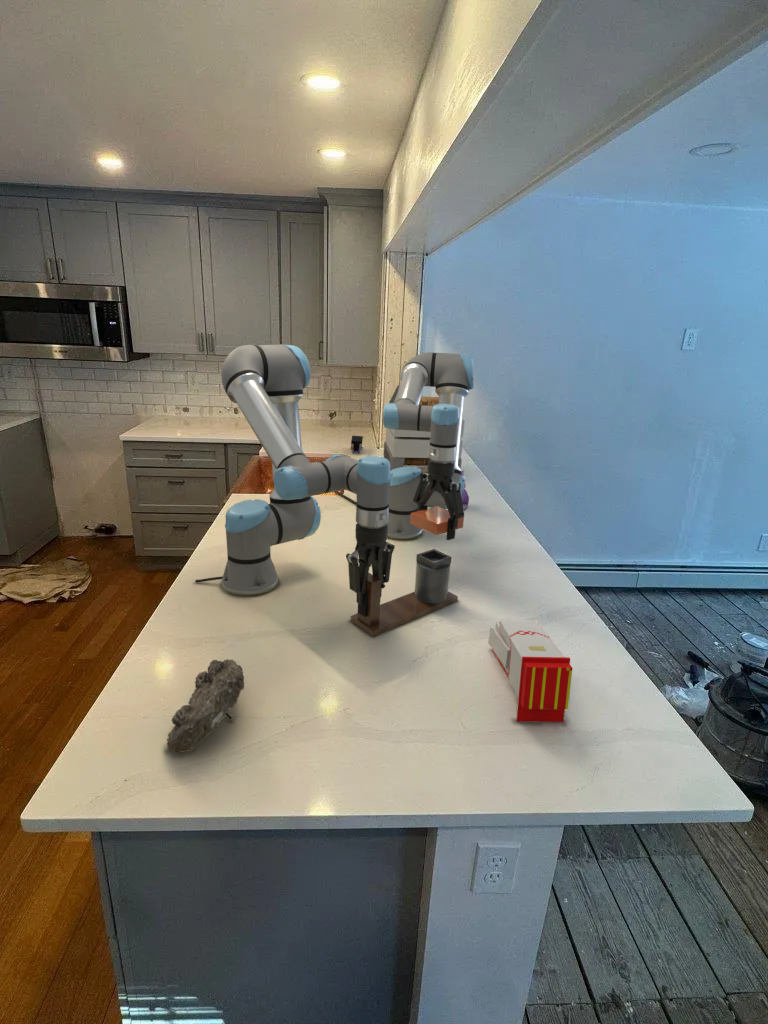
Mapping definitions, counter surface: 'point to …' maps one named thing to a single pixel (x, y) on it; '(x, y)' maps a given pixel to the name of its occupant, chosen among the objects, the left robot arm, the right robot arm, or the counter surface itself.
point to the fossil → (206, 705)
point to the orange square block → (433, 520)
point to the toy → (533, 669)
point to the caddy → (409, 595)
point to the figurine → (464, 495)
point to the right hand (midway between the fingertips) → (435, 532)
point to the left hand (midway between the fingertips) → (368, 612)
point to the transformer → (411, 442)
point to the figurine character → (356, 443)
